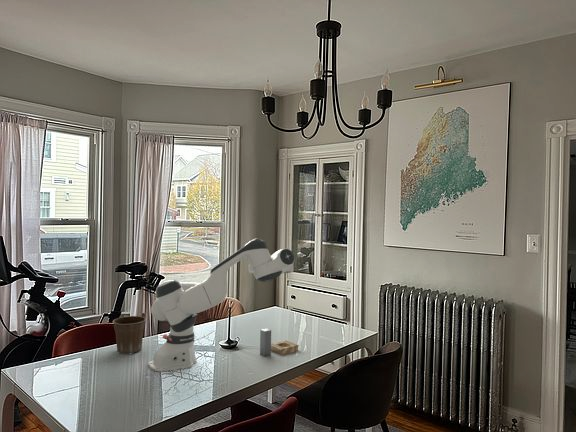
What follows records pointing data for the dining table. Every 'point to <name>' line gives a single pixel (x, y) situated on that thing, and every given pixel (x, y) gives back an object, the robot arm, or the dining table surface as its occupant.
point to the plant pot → (129, 333)
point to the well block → (284, 347)
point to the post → (265, 342)
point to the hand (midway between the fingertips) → (265, 271)
